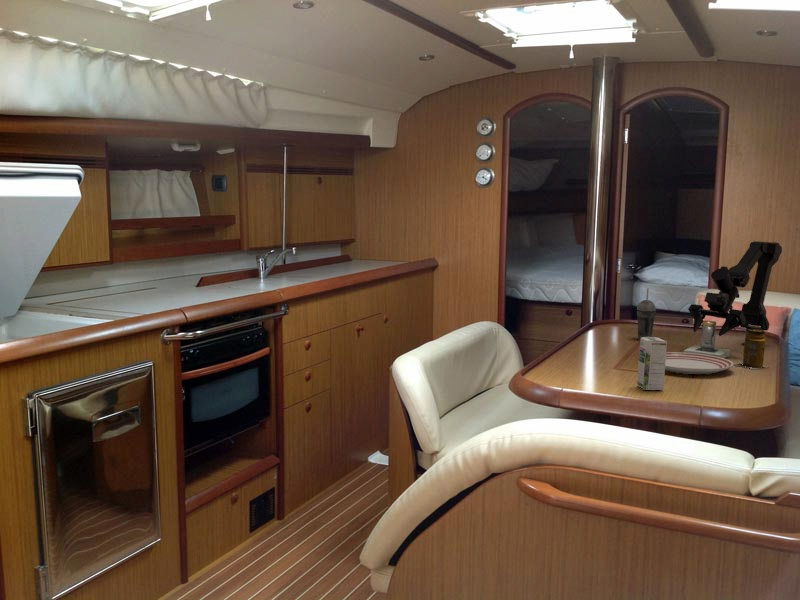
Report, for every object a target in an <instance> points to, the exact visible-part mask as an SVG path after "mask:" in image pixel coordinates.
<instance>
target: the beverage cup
mask: <svg viewBox="0 0 800 600" xmlns="http://www.w3.org/2000/svg"><path fill="white" fill-rule="evenodd" d="M649 289H650V288H646V299H644V300H641V301H640V302H639V303H638V305H637V307H636V316H637V336H638V337H637V338H638V340H637V341H639V340H640V339H641V338H642V337H653V336H652V335H653V330H654V323H655V316H656V314H657V313H656V312H657V307H656V304H655V303H654V302H653V301H651V300H649Z"/></svg>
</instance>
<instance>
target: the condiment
mask: <svg viewBox="0 0 800 600" xmlns="http://www.w3.org/2000/svg"><path fill="white" fill-rule="evenodd" d="M765 334H766V331H765V330H764V331H763V330H759V329H748V330H747V334H746V333H745V335H746V338H745V337H744V342H745V343H744V345H743V354H742V355H743V357H742V363H735V364H734V363H733V366H736V367H740V368H744V367H745V366H746V367H747V368H746V367H745V369H749V367H752V368H750V369H749V370H759V369H763V368H762V367H763V366H764V367H765V366H767V365H764V359H765V358H764V357H765V348H766V338H765ZM742 364H743V365H742ZM766 368H769V365H768V366H767V367H766Z"/></svg>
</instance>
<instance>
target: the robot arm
mask: <svg viewBox="0 0 800 600" xmlns="http://www.w3.org/2000/svg"><path fill="white" fill-rule="evenodd" d="M748 246H749V247H748V248H747V250H746V251H745V253H744V254H743V255H742V257H741V258H740V260H739V261H738V263H737V264H735V265H733V266H731V267H730V268H728V266H723V265H722V266H721V267H720V268H717V269H714V271H712V273H711V275H710V277H711V279H712V283H714V285H715V288H716V289H717V290H718V293H715V292H706V294H705V297H704V301H703V302H705V303H707V305H706V306H707V307H708V308H709V309H707V308H706V309H705V308H704V306H703V305H702V304H694V303H692V304H690V305H689V307H688V308H687V310H688V312H689V315H690V316H691V317H692V319H693V329H692V330H693V332H694V333H696V332H697V331H698V330H699V328H700V327H702V323H703V321H704V319H706V316H707V317H712V318H713V317H714V318H716V319H717V318H718V319H725V321H724V322H723V324H722V326H721V328H720V330H719V332H718V336H719V337H722V336H723V335H725V334H727V333H728V332H730V331H732V330H734V329H735V328H742V329H745V337H744V339H745V338H746V334H747V330H748V329H759V330H763V331H765V332H766V331H768V330H769V328H770V322H769V320H768V317H767V310H766V308H765V305H764V302H765V298H766V294H767V289H768V285H769V281H770V277H771V274H772V273H771V272H772V267H773V266H774V265H776V263H777V262H778V261H779V260H780V256H781V255H782V253H783V247H782V246H781V245H780V243H779V242H777V241H775V242H774V241H773V242H772V241H771V242H770V241H756V240H754V241H751V242H750V244H749V245H748ZM756 263H757V267H756V271H755V275H754V279H753V284H752V289H751V292H750V297H749V300H748V301H747V303H743V304H742V306H741V309H734V307H733V304H734V301H735V300H736V299H739V298H740V293H739V292H740V291H739V289H738V288H742V289H743V288H745V287H746V286H748V284H749V281H750V279H751V277H750V272H751V271H752V269H753V268H754V266H755V265H756ZM744 343H745V341H743V342H742V343H741V345H743V346H744Z"/></svg>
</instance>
